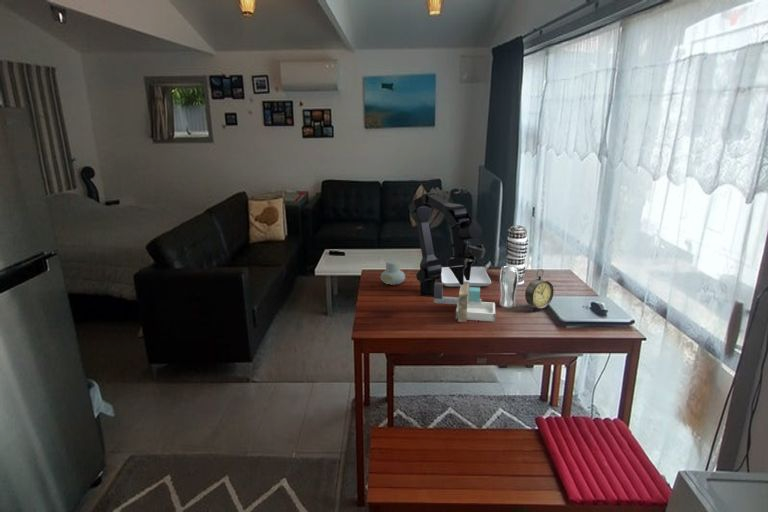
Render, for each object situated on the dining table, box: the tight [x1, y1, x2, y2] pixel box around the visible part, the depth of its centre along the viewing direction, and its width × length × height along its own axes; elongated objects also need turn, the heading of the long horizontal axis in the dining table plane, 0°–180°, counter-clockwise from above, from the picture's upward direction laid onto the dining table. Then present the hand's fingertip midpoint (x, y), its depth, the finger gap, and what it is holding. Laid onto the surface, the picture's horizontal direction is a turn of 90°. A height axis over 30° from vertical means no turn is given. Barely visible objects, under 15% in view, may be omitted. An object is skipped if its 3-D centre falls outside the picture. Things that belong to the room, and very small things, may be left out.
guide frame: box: [457, 282, 469, 323], centre depth 174 cm, size 3×15×10 cm, turn 168°
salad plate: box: [440, 266, 492, 288], centre depth 209 cm, size 21×21×3 cm
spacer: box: [469, 287, 481, 302], centre depth 172 cm, size 4×4×4 cm
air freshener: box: [380, 259, 406, 286], centre depth 206 cm, size 11×8×10 cm
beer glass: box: [499, 265, 519, 309], centre depth 180 cm, size 7×7×15 cm
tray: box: [455, 301, 496, 323], centre depth 174 cm, size 14×11×3 cm
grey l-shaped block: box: [433, 281, 483, 306], centre depth 173 cm, size 18×3×8 cm, turn 78°
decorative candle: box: [505, 224, 529, 286], centre depth 203 cm, size 9×9×25 cm
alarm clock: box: [524, 268, 555, 313], centre depth 175 cm, size 11×5×16 cm, turn 117°
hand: (465, 282), depth 170 cm, fingers open, 9 cm apart
